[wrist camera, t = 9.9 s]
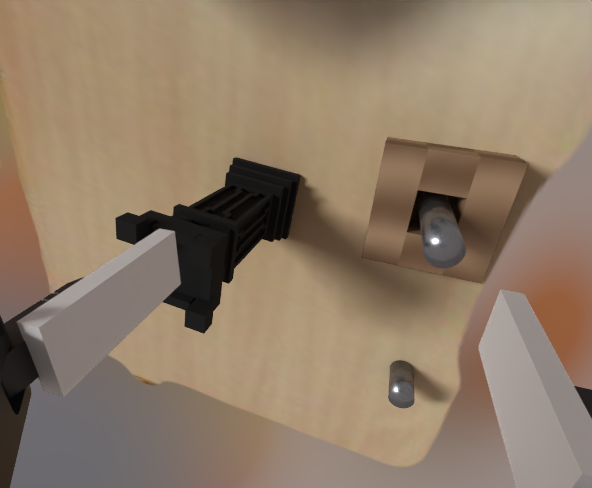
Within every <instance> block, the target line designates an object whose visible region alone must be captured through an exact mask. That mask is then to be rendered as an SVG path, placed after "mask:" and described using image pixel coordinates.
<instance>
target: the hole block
mask: <svg viewBox="0 0 592 488" xmlns="http://www.w3.org/2000/svg"><path fill="white" fill-rule="evenodd" d="M527 166H528V163H527V162H525V161H523V160H522V159H520V158H519V157H517V156H516V155H509V154H502V153H495V152H488V151H481V150H474V149H467V148H460V147H453V146H446V145H439V144H432V143H425V142H418V141H411V140H404V139H397V138H390V137H387V140H386V143H385V148H384V153H383V158H382V162H381V167H380V172H379V177H378V182H377V187H376V191H375V196H374V201H373V206H372V211H371V216H370V220H369V225H368V230H367V235H366V240H365V245H364V249H363V254H362V258H366V259H371V260H375V261H380V262H384V263H389V264H394V265H398V266H403V267H408V268H412V269H417V270H421V271H426V272H431V273H435V274H440V275H445V276H449V277H454V278H458V279H463V280H468V281H472V282H477V283H482V281H483V279H484V276H485V274H486V271H487V269H488V266H489V263H490V261H491V258H492V256H493V253H494V251H495V248H496V246H497V243H498V240H499V238H500V235H501V233H502V230H503V228H504V225H505V223H506V220H507V217H508V215H509V212H510V210H511V207H512V205H513V202H514V200H515V197H516V194H517V192H518V189H519V187H520V184H521V182H522V179H523V177H524V174H525V172H526V169H527ZM418 190H421V191H427V192H433V193H439V194H444V195H450V196H456V197H458V198H457V202H456V205H455V208H454V211H453V213H454V216H455V219H456V221H457V224H458V227H459V230H460V232H461V235H462V238H463V240H464V243H465V246H466V253H465V256H464V258H463V260H462V261H461V262H460V263H459V264H457V265H455V266H453V267H450V268H438V267H435V266H433V265H431V264H430V263H428V262H427V260H426V259H425V257H424V254H423V246H422V236H421V227H420V221H415V220H410V218H411V214H412V210H413V206H414V202H415V198H416V195H417V191H418Z"/></svg>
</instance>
